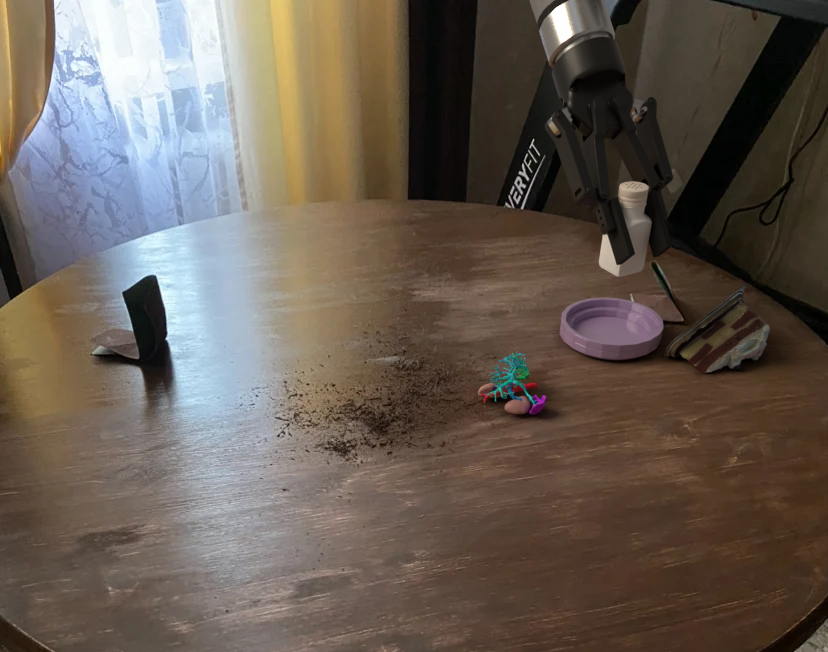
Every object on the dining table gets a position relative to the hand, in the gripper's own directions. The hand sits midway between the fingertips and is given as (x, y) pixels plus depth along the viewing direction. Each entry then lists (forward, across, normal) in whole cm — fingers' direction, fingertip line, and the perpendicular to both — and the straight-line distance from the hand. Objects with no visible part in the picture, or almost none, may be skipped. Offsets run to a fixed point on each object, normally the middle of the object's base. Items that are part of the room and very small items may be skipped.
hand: (644, 255), depth 93 cm
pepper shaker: (0, 0, -5) cm, 5 cm away
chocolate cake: (+13, -9, -5) cm, 16 cm away
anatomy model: (+12, +19, -6) cm, 23 cm away
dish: (+6, 0, -11) cm, 13 cm away
